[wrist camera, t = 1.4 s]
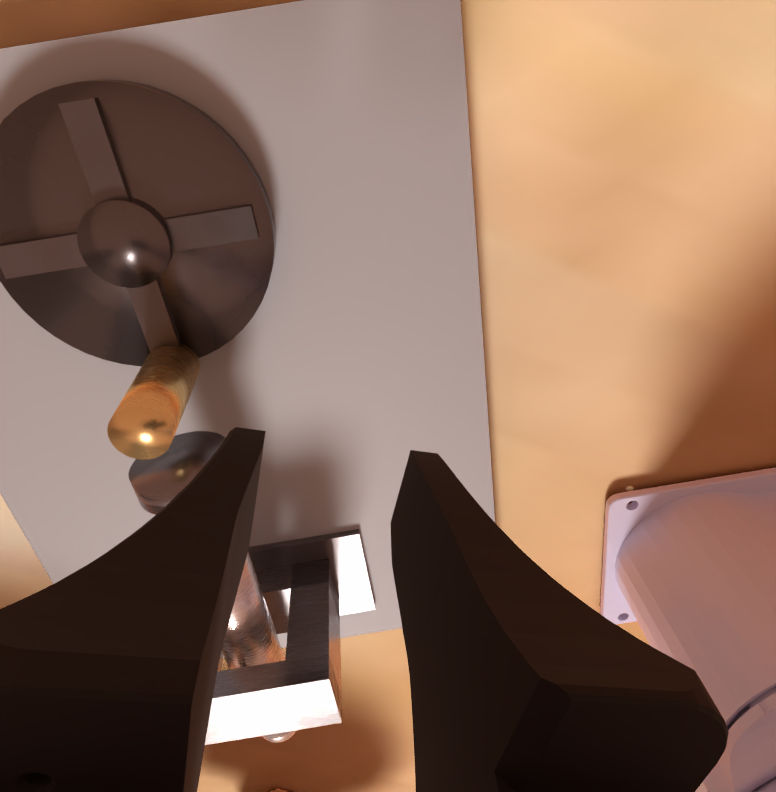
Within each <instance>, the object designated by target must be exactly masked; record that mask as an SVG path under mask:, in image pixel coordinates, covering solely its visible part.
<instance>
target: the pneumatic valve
mask: <svg viewBox="0 0 776 792" xmlns="http://www.w3.org/2000/svg"><path fill="white" fill-rule="evenodd" d="M270 792H287V791H284V790H281V789H278V788H277V789H276V790H275V791H270Z"/></svg>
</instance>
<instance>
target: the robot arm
mask: <svg viewBox="0 0 776 792" xmlns="http://www.w3.org/2000/svg"><path fill="white" fill-rule="evenodd" d="M265 432H266V431H262V430H254V429H247V428H239V427H235V428H234V429H232V430H231V431H229V433H228V435H227V437H226V438H225V440H224V441H223V443H222V444H221V446H220V447H219V448H218V450H217V451H216V452H215V454H214V455H213V456H212V457H211V459H210V460H209V461H208V462H207V463H206V465H205V466H204V467H203V468H202V469H201V470H200V471H199V473H198V474H197V475H196V476H195V477H194V478H193V479H192V480H191V482H190V483H189V484H188V485H187V486H186V487H185V488H184V489H183V490H182V491H181V492H180V493H179V494H178V495H176V496H175V497H174V498H173V499H172V500H171V501H170V502H169V503H168V504H167V505H166V506H165V507H164V508H163V509H162V510H161V511H160V512H158V513H157V514H156V515H155V516H154V517H153V518H151V519H150V520H149V521H148V522H147V523H145V524H144V525H143V526H142V527H140V528H139V529H138V530H137V531H135V532H134V533H133V534H131V535H130V536H129V537H127V538H126V539H125V540H123V541H122V542H120V543H119V544H118V545H116V546H115V547H113V548H112V549H110V550H109V551H108V552H106V553H105V554H103V555H102V556H100V557H99V558H97V559H96V560H94V561H92V562H91V563H89V564H88V565H86V566H84V567H83V568H81V569H79V570H77V571H76V572H74V573H72V574H70V575H69V576H67V577H65V578H63V579H62V580H60V581H58V582H56V583H55V584H53V585H51V586H49V587H47V588H45V589H43V590H41V591H39V592H37V593H35V594H33V595H31V596H29V597H27V598H24V599H22V600H20V601H18V602H16V603H13V604H11V605H9V606H7V607H5V608H2V609H0V792H197V788H198V782H199V776H200V770H201V764H202V758H203V752H204V746H205V740H206V734H207V728H208V722H209V717H210V711H211V705H212V699H213V693H214V687H215V682H216V676H217V670H218V664H219V660H220V656H221V651H222V647H223V642H224V639H225V635H226V631H227V628H228V624H229V620H230V617H231V613H232V609H233V606H234V602H235V598H236V595H237V591H238V587H239V583H240V580H241V576H242V572H243V569H244V565H245V561H246V557H247V554H248V550H249V543H250V537H251V531H252V524H253V518H254V511H255V504H256V497H257V490H258V483H259V475H260V468H261V461H262V454H263V447H264V439H265ZM631 501H633V502H632V503H630V504H628V503H629V502H631ZM391 555H392V568H393V574H394V580H395V587H396V593H397V599H398V604H399V610H400V616H401V622H402V628H403V634H404V639H405V645H406V651H407V657H408V665H409V673H410V684H411V699H412V715H413V733H414V753H415V775H416V792H695V791H696V789H697V788H698V787H699V786H700V784H701V783H702V782H703V783H704V786H705V788H706V789H707V791H708V792H776V467H775V468H769V469H763V470H757V471H750V472H744V473H738V474H732V475H726V476H720V477H714V478H708V479H701V480H695V481H689V482H683V483H677V484H671V485H665V486H659V487H652V488H646V489H640V490H634V491H628V492H622V493H617V494H614V495H612V496H610V497H609V498H608V500H607V502H606V510H605V529H604V548H603V567H602V586H601V605H600V614H599V613H598V612H596V611H595V610H593V609H592V608H590V607H589V606H588V605H586V604H585V603H584V602H582V601H581V600H580V599H578V598H577V597H576V596H574V595H573V594H572V593H571V592H569V591H568V590H567V589H565V588H564V587H563V586H561V585H560V584H559V583H558V582H557V581H555V580H554V579H553V578H552V577H550V576H549V575H548V574H547V573H546V572H545V571H544V570H543V569H541V568H540V567H539V566H538V565H537V564H536V563H535V562H534V561H532V560H531V559H530V558H529V557H528V556H527V555H526V554H525V553H524V552H523V551H522V550H521V549H520V548H519V547H518V546H517V545H516V544H515V543H514V542H513V541H512V540H511V539H510V538H509V537H508V536H507V535H506V534H505V533H504V532H503V531H502V530H501V529H500V528H499V527H498V526H497V525H496V523H495V522H494V521H493V520H492V519H491V518H490V517H489V516H488V514H487V513H486V512H485V511H484V510H483V509H482V507H481V506H480V505H479V504H478V503H477V502H476V500H475V499H474V498H473V497H472V495H471V494H470V493H469V492H468V491H467V489H466V488H465V487H464V486H463V484H462V483H461V482H460V481H459V479H458V478H457V477H456V475H455V474H454V473H453V472H452V470H451V469H450V468H449V466H448V465H447V464H446V463H445V461H444V460H443V459H442V458H441V457H440V455H439V454H438V453H430V452H423V451H415V450H410V454H409V458H408V461H407V465H406V468H405V472H404V476H403V479H402V483H401V486H400V490H399V494H398V497H397V501H396V505H395V508H394V512H393V515H392V519H391ZM634 621H637V622H638V624H639V626H640V628H641V629H642V631H643V633H644V635H645V637H646V639H647V641H648V642H649V644H650V645H648V644H646V643H644V642H643V641H641V640H639V639H638V638H636V637H634V636H633V635H631V634H630V633H628V632H627V631H625V630H623V629H622V628H620V627H619V626H617V625H616V624H621V623H627V622H634Z"/></svg>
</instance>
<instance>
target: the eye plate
mask: <svg viewBox="0 0 776 792" xmlns="http://www.w3.org/2000/svg"><path fill="white" fill-rule="evenodd" d="M248 552H249V555H250V558H251V561H252V564H253V567H254V570H255V573H256V576H257V578H258V581H259V584H260V587H261V590H262V593H263V596H264V599H265V602H266V605H267V607H268V610H269V613H270V616H271V619H272V622H273V625H274V628H275V631H276V634H281V633H287V646H286V660H285V661H279V662H273V663H266V664H260V665H254V666H248V667H242V668H236V669H230V670H224V671H221V666H222V660H223V653H222V651H221V656H220V660H219V664H218V670H217V676H216V682H215V687H214V693H213V699H212V705H211V711H210V717H209V722H208V728H207V734H206V740H205V745H209V744H215V743H221V742H227V741H233V740H239V739H245V738H252V737H258V736H264V735H270V734H276V733H282V732H288V731H294V730H300V729H306V728H312V727H318V726H325V725H331V724H337V723H342V710H341V656H340V615H346V614H352V613H358V612H364V611H370V610H375V602H374V597H373V593H372V588H371V583H370V579H369V574H368V569H367V565H366V560H365V555H364V551H363V546H362V542H361V537H360V532H359V529H356V530H350V531H343V532H337V533H331V534H325V535H319V536H313V537H307V538H301V539H294V540H288V541H282V542H276V543H270V544H264V545H258V546H252V547H249V550H248Z"/></svg>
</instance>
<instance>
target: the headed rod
mask: <svg viewBox="0 0 776 792" xmlns="http://www.w3.org/2000/svg"><path fill="white" fill-rule="evenodd" d="M224 440H225V437H224V436H222V435H220V434H218V433H215V432H210V431H194V432H187V433H183V434H179V435H175V436H174V438H173V440H172V443H171V445H170V447H169V449H168V450H167V451H166V452H165V453H164V454H162V455H161V456H159V457H157V458H154V459H148V460H140V459H136V460H135V461H134V462H133V464H132V465H131V467H130V470H129V474H128V475H129V480H130V483H131V485H132V487H133V489H134V492H135V494H136V496H137V498H138V501H139V503H140V505H141V507H142V508H143V509H144V510H145V511H147V512H149V513H152V514H155V515H156V514H157V513H158V512H160V511H161V510H162V509H163V508H164V507H165V506H166V505H167V504H168V503H169V502H170V501H171V500H172V499H173V498H174V497H175V496H176V495H178V494H179V493H180V492H181V491H182V490H183V489H184V488H185V487H186V486H187V485H188V484H189V483H190V482H191V480H192V479H193V478H194V477H195V476H196V475H197V474H198V473H199V471H200V470H201V469H202V468H203V467H204V466H205V465H206V463H207V462H208V461H209V460H210V459H211V457H212V456H213V455H214V454H215V452H216V451H217V450H218V448H219V447H220V446H221V444H222V443H223V441H224ZM222 653H223V655H224V658H225V660H226V662H227V665H228V667H229V670H230V669H236V668H242V667H248V666H254V665H260V664H266V663H273V662H279V661H285V657H284V654H283V651H282V648H281V645H280V642H279V639H278V636H277V634H276V631H275V628H274V625H273V622H272V619H271V616H270V613H269V610H268V607H267V605H266V602H265V599H264V596H263V593H262V590H261V587H260V584H259V581H258V578H257V576H256V573H255V570H254V567H253V564H252V561H251V558H250V555H249V552H248V554H247V557H246V561H245V565H244V569H243V572H242V576H241V580H240V583H239V587H238V591H237V595H236V598H235V602H234V606H233V609H232V613H231V617H230V620H229V624H228V628H227V631H226V635H225V639H224V642H223V647H222ZM296 731H297V730H294V731H288V732H282V733H276V734H270V735H264V736H262V737H263V738H264V739H266V740H267V741H269V742H273V743H280V742H284V741H286V740H288V739H289V738H291V737H292V736H293V735H294V733H295V732H296Z"/></svg>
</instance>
